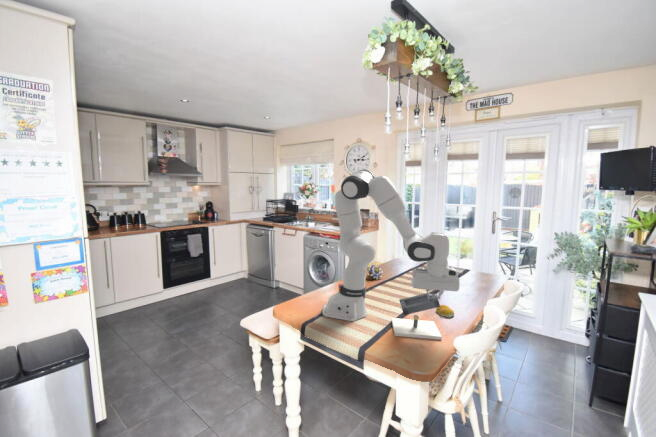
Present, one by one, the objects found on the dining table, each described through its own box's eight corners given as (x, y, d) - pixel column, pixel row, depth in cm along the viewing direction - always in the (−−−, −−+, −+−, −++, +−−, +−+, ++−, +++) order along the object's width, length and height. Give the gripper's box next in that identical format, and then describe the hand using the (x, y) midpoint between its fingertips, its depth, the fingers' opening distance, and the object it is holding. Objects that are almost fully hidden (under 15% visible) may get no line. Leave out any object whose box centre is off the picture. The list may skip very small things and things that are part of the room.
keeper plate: (394, 335, 132) (395, 320, 131) (391, 320, 146) (392, 306, 145) (441, 339, 130) (443, 324, 129) (433, 324, 144) (434, 310, 143)
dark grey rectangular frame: (403, 315, 133) (402, 308, 132) (400, 305, 143) (399, 299, 142) (440, 306, 131) (438, 300, 130) (434, 297, 140) (432, 291, 140)
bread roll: (443, 318, 151) (443, 310, 151) (433, 310, 160) (434, 303, 159) (457, 317, 153) (458, 310, 152) (447, 309, 162) (448, 302, 161)
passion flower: (376, 287, 205) (372, 276, 198) (365, 279, 213) (360, 268, 206) (387, 276, 209) (383, 265, 202) (375, 269, 217) (372, 258, 210)
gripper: (413, 269, 131) (411, 299, 133) (462, 272, 129) (459, 303, 131) (411, 265, 138) (409, 294, 140) (457, 268, 136) (454, 297, 138)
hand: (433, 298), depth 135 cm, fingers closed on dark grey rectangular frame, 2 cm apart
